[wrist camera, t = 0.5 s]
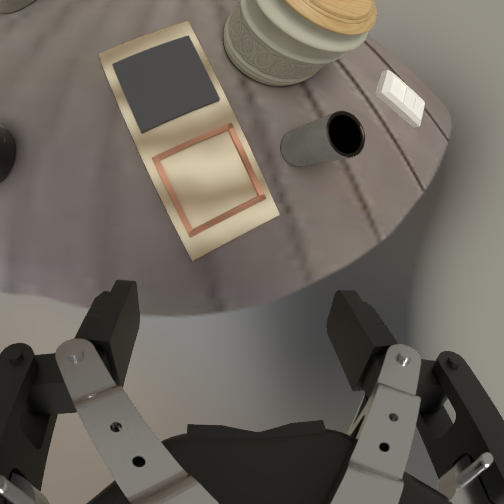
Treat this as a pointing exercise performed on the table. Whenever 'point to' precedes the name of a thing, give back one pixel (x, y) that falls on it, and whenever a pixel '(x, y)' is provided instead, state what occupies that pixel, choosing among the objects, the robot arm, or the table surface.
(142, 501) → the robot arm
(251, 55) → the jar
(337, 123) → the grey tumbler
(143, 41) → the board
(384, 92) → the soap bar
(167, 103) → the pad
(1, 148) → the supplement bottle
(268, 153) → the table surface
